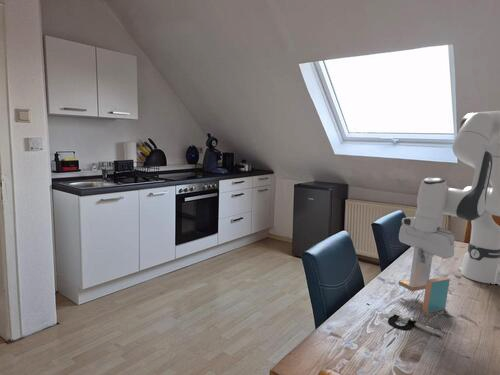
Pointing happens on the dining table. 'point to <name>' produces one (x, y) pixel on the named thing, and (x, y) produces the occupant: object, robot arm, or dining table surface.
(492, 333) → the dining table surface
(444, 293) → the tile
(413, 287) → the bookend
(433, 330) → the micrometer
